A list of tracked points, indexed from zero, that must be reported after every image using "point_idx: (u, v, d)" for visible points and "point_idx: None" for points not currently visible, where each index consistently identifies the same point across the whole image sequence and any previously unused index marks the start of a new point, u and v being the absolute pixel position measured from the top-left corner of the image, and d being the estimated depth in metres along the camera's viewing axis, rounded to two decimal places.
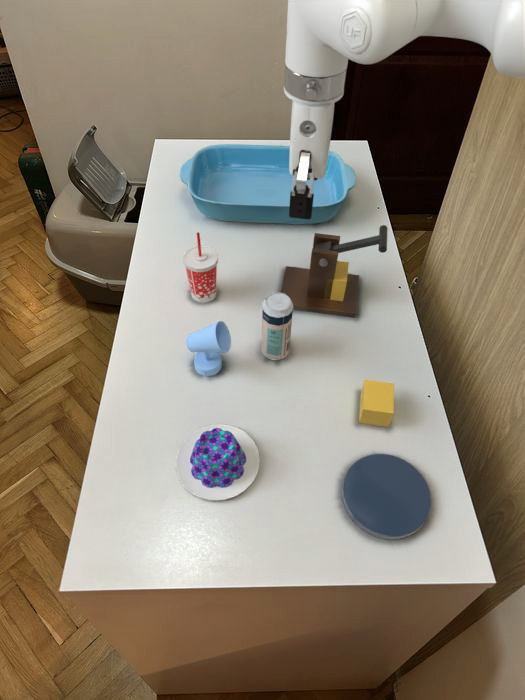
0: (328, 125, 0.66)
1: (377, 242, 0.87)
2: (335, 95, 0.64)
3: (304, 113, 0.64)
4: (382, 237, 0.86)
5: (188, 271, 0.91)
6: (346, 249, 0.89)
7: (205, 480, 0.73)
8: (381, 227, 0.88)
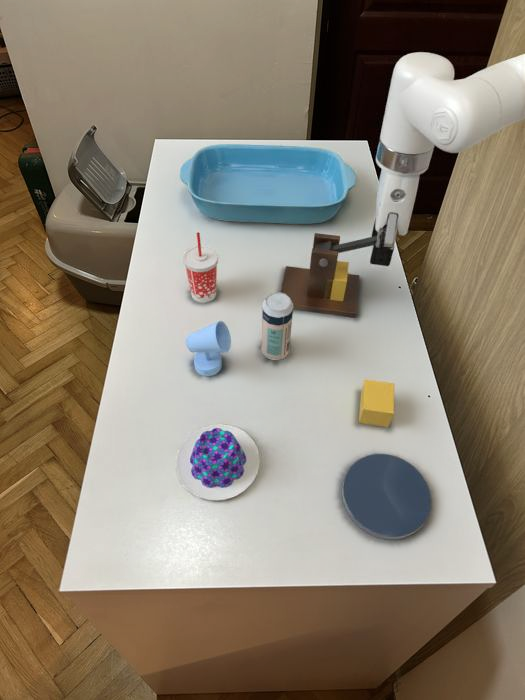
0: (416, 192, 0.75)
1: None
2: (424, 167, 0.73)
3: (396, 183, 0.74)
4: (382, 237, 0.86)
5: (188, 271, 0.91)
6: (346, 249, 0.89)
7: (205, 480, 0.73)
8: None
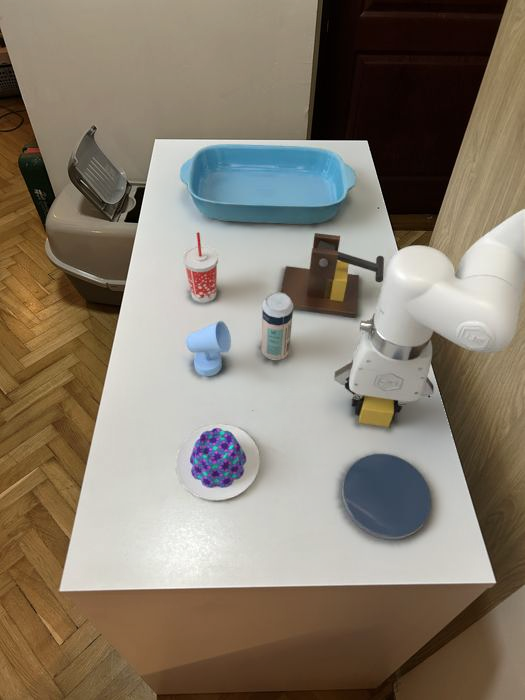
0: (363, 360, 0.70)
1: (374, 269, 0.91)
2: (379, 350, 0.67)
3: (362, 335, 0.71)
4: (381, 268, 0.91)
5: (188, 271, 0.91)
6: (345, 260, 0.91)
7: (205, 480, 0.73)
8: (380, 257, 0.93)
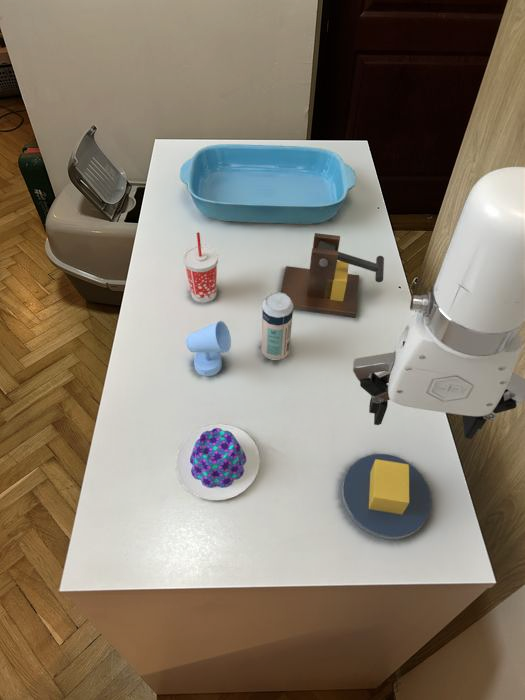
0: (414, 356, 0.46)
1: (374, 269, 0.91)
2: (442, 340, 0.44)
3: (412, 319, 0.47)
4: (381, 268, 0.91)
5: (188, 271, 0.91)
6: (345, 260, 0.91)
7: (205, 480, 0.73)
8: (380, 257, 0.93)
